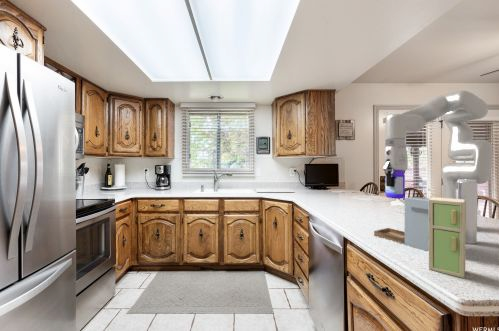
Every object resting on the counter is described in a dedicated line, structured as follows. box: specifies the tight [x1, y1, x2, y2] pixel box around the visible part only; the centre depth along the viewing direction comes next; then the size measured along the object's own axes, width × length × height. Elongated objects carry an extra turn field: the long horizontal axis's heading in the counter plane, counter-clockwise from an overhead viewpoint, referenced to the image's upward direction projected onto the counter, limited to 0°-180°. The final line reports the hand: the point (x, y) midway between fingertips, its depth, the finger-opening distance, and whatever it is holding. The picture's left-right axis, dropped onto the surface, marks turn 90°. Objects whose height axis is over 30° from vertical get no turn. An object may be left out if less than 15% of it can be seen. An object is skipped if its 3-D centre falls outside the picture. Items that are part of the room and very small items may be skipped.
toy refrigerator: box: [428, 196, 466, 279], centre depth 69 cm, size 8×7×21 cm
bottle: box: [384, 168, 406, 200], centre depth 100 cm, size 7×6×17 cm
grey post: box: [455, 179, 479, 245], centre depth 94 cm, size 6×6×25 cm
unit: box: [404, 196, 431, 252], centre depth 87 cm, size 9×12×18 cm
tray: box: [373, 227, 405, 244], centre depth 99 cm, size 10×11×2 cm
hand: (394, 185), depth 100 cm, fingers closed on bottle, 5 cm apart
